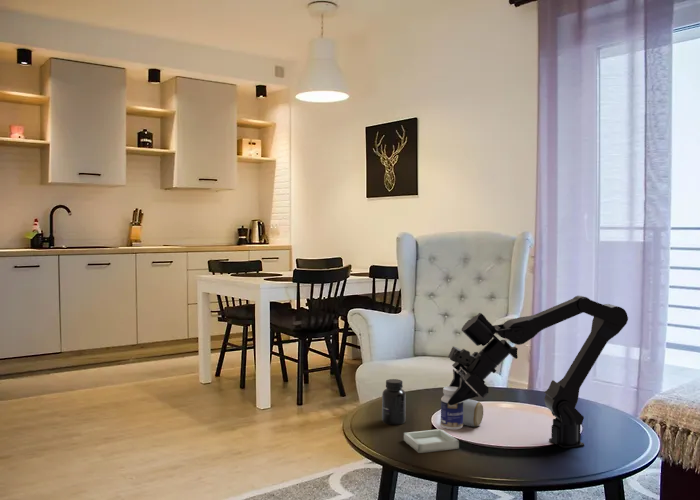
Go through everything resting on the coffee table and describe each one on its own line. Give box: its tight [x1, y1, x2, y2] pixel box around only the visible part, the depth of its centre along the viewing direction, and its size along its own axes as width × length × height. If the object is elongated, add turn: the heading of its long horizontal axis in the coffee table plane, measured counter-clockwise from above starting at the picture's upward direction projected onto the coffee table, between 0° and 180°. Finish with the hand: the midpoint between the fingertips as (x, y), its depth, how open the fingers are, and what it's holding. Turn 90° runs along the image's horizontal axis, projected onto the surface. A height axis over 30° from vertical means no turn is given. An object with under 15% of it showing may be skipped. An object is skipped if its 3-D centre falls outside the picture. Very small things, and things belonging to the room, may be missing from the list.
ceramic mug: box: [463, 399, 484, 428], centre depth 180 cm, size 11×8×8 cm
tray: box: [403, 428, 460, 454], centre depth 162 cm, size 11×10×2 cm
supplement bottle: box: [381, 378, 407, 426], centre depth 182 cm, size 7×7×12 cm
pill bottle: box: [440, 386, 464, 430], centre depth 162 cm, size 6×6×10 cm
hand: (446, 400), depth 162 cm, fingers closed on pill bottle, 6 cm apart
